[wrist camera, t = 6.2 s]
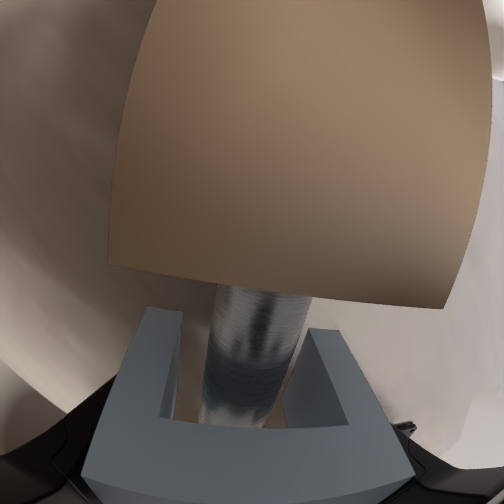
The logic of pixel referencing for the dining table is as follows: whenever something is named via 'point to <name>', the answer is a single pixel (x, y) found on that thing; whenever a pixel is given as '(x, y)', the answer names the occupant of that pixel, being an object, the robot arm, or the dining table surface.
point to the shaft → (248, 354)
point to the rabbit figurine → (495, 35)
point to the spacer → (243, 434)
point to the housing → (305, 146)
